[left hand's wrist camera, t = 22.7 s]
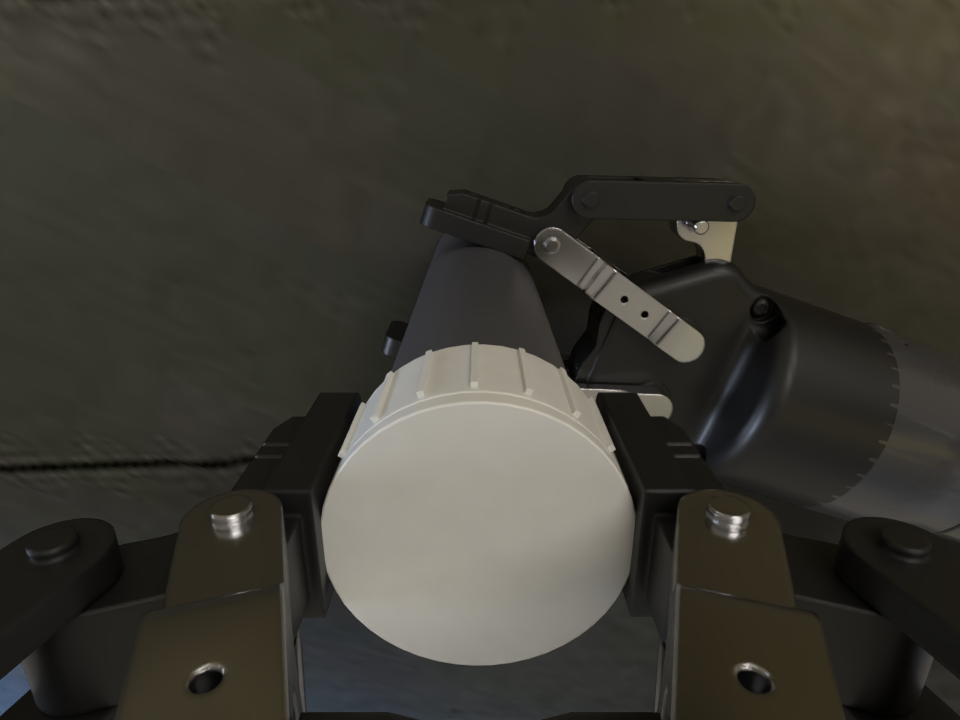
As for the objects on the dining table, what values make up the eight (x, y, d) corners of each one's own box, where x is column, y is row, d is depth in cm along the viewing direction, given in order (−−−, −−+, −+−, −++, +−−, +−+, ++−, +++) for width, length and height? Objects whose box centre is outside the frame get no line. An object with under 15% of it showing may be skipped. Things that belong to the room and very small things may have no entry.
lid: (301, 392, 11) (254, 461, 8) (564, 299, 10) (588, 347, 8) (408, 597, 12) (392, 700, 10) (640, 526, 12) (678, 621, 9)
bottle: (424, 292, 29) (325, 585, 10) (447, 205, 27) (380, 363, 9) (508, 316, 29) (559, 638, 11) (535, 231, 28) (648, 434, 9)
